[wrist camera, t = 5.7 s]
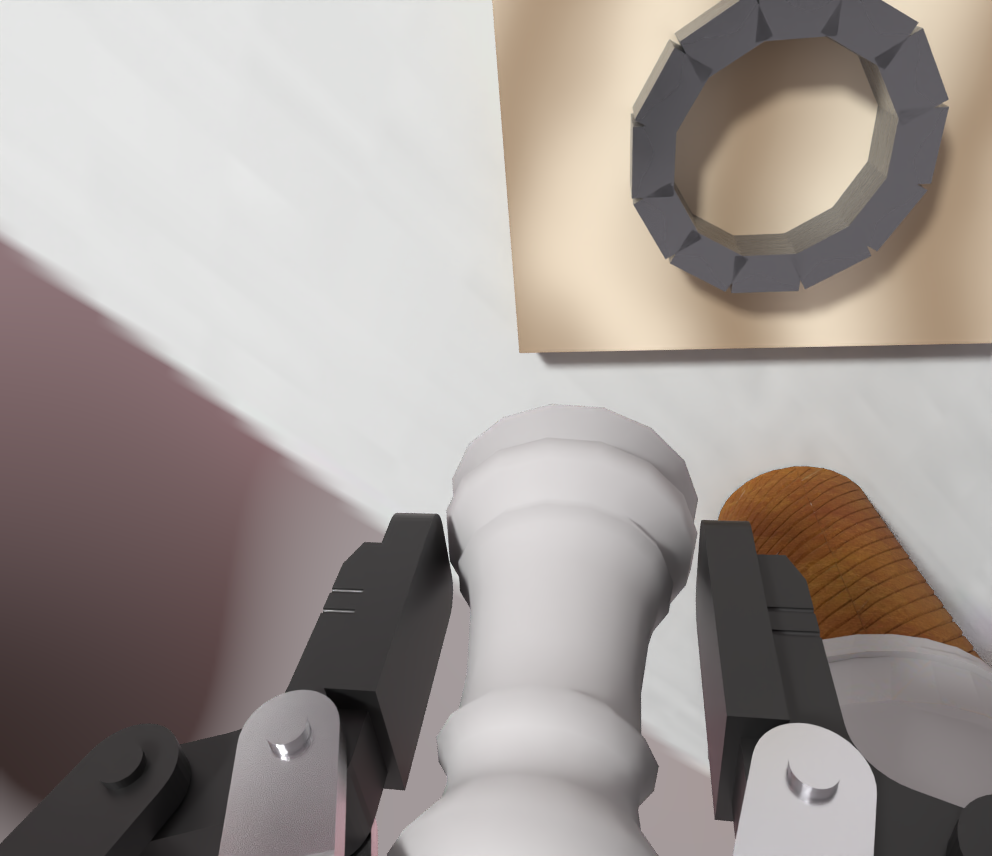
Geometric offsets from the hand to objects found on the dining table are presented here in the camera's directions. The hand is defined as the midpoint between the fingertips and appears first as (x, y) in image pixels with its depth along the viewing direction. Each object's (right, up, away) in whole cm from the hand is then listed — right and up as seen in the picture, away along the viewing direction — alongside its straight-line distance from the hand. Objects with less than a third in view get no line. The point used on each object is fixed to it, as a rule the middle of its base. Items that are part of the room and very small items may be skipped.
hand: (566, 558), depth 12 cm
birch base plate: (+7, +12, +11) cm, 17 cm away
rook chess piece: (0, +1, +2) cm, 2 cm away
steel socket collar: (+7, +11, +10) cm, 16 cm away
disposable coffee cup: (+12, -2, +20) cm, 23 cm away
